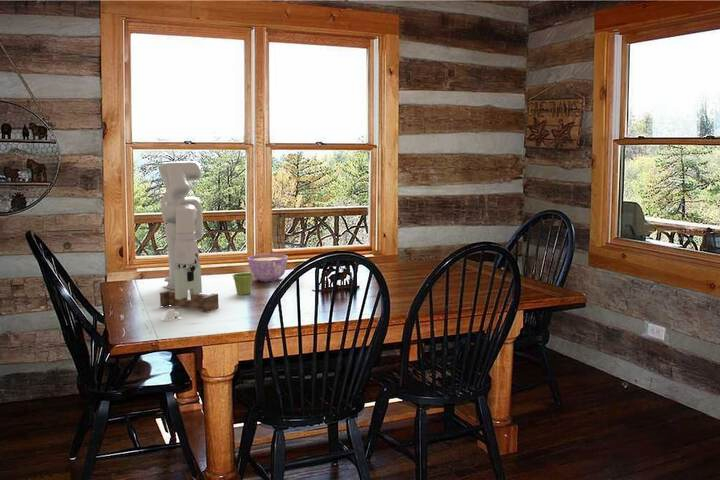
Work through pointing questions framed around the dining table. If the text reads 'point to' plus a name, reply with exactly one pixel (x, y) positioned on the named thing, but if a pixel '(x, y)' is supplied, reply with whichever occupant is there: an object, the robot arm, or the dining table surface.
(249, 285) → the plant pot
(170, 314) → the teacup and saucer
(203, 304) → the walnut slot rail
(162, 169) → the robot arm
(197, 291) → the sage slot plate
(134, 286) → the dining table surface
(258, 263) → the bowl of food
